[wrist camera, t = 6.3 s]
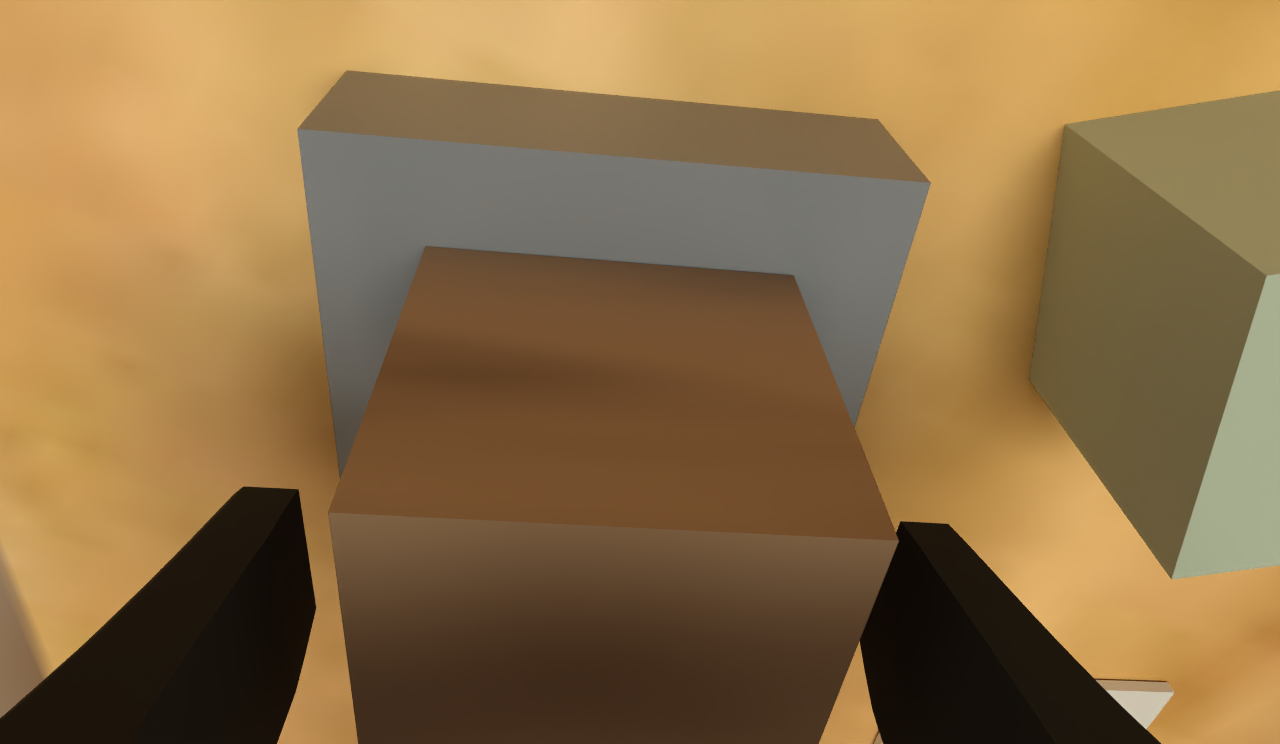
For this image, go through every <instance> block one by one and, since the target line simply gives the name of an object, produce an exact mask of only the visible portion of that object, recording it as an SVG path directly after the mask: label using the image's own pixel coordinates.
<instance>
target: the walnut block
mask: <svg viewBox="0 0 1280 744" xmlns="http://www.w3.org/2000/svg"><path fill="white" fill-rule="evenodd" d="M328 514H329V522H330V529H331V537H332V545H333V552H334V560H335V568H336V575H337V583H338V591H339V599H340V606H341V614H342V622H343V629H344V637H345V645H346V652H347V660H348V668H349V675H350V683H351V691H352V698H353V706H354V714H355V721H356V729H357V737H358V744H819V741H820V739H821V736H822V734H823V731H824V729H825V726H826V724H827V721H828V719H829V716H830V714H831V711H832V709H833V706H834V703H835V701H836V698H837V696H838V693H839V691H840V688H841V686H842V683H843V681H844V678H845V676H846V673H847V671H848V668H849V666H850V663H851V661H852V658H853V656H854V653H855V650H856V648H857V645H858V643H859V640H860V638H861V635H862V633H863V630H864V628H865V625H866V623H867V620H868V618H869V615H870V613H871V610H872V608H873V605H874V602H875V600H876V597H877V595H878V592H879V590H880V587H881V585H882V582H883V580H884V577H885V575H886V572H887V570H888V567H889V565H890V562H891V560H892V557H893V555H894V552H895V549H896V547H897V544H898V542H899V540H898V537H897V535H896V532H895V530H894V527H893V525H892V522H891V520H890V517H889V515H888V512H887V509H886V507H885V504H884V502H883V499H882V497H881V494H880V492H879V489H878V487H877V484H876V482H875V479H874V477H873V474H872V472H871V469H870V467H869V464H868V462H867V459H866V456H865V454H864V451H863V449H862V446H861V444H860V441H859V439H858V436H857V434H856V431H855V429H854V426H853V424H852V421H851V419H850V416H849V414H848V411H847V409H846V406H845V403H844V401H843V398H842V396H841V393H840V391H839V388H838V386H837V383H836V381H835V378H834V376H833V373H832V371H831V368H830V366H829V363H828V361H827V358H826V356H825V353H824V350H823V348H822V345H821V343H820V340H819V338H818V335H817V333H816V330H815V328H814V325H813V323H812V320H811V318H810V315H809V313H808V310H807V308H806V305H805V302H804V300H803V297H802V295H801V292H800V290H799V287H798V285H797V282H796V280H795V277H794V276H791V275H779V274H766V273H754V272H741V271H728V270H716V269H703V268H691V267H678V266H666V265H653V264H641V263H628V262H616V261H603V260H590V259H578V258H565V257H553V256H540V255H528V254H515V253H503V252H490V251H478V250H465V249H453V248H440V247H427V246H425V248H424V251H423V254H422V257H421V259H420V262H419V265H418V268H417V270H416V273H415V276H414V279H413V281H412V284H411V287H410V290H409V292H408V295H407V298H406V301H405V303H404V306H403V309H402V312H401V314H400V317H399V320H398V323H397V325H396V328H395V331H394V333H393V336H392V339H391V342H390V344H389V347H388V350H387V353H386V355H385V358H384V361H383V364H382V366H381V369H380V372H379V375H378V377H377V380H376V383H375V386H374V388H373V391H372V394H371V397H370V399H369V402H368V405H367V408H366V410H365V413H364V416H363V419H362V421H361V424H360V427H359V430H358V432H357V435H356V438H355V441H354V443H353V446H352V449H351V452H350V454H349V457H348V460H347V463H346V465H345V468H344V471H343V474H342V476H341V479H340V482H339V485H338V487H337V490H336V493H335V496H334V498H333V501H332V504H331V507H330V509H329V512H328Z"/></svg>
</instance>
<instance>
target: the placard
mask: <svg viewBox="0 0 1280 744" xmlns="http://www.w3.org/2000/svg"><path fill="white" fill-rule="evenodd" d="M1096 681H1097V682H1098V683H1099V684H1100V685H1101V686H1102V687H1103V688H1104V689H1105V690H1106V691H1107V692H1108V693H1109V694H1110V695H1111V696H1112V697H1113V698H1114V699H1115V700H1116V701H1117V702H1118V703H1119V704H1120V705H1121V706H1122V707H1123V708H1124V709H1125V710H1126V711H1127V712H1128V713H1129V714H1131V715H1132V716H1133V717H1134V718H1135V719H1136V720H1137V721H1138V722H1139V723H1140V724H1141V725H1142V726H1143V727H1144V728H1145V729H1147V728H1148V726H1149V725H1150V724H1151V722H1152V721H1153V720H1154V719H1155V717H1156V716H1157V715H1158V713H1159V712H1160V711H1161V709H1162V708H1163V707H1164V706H1165V704H1166V703H1167V702H1168V700H1169V699H1170V698H1171V697H1172V695H1173V694H1174V693H1175V692H1174V691H1173V689H1172V688H1171V686H1170V685H1169V683H1168V682H1145V681H1115V680H1096ZM874 744H883V742H882V739H881V736H880V733H878V735H877V738H876V740H875V742H874Z"/></svg>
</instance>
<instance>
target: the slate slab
mask: <svg viewBox="0 0 1280 744" xmlns="http://www.w3.org/2000/svg"><path fill="white" fill-rule="evenodd" d="M298 138H299V146H300V154H301V162H302V170H303V179H304V187H305V195H306V203H307V211H308V220H309V228H310V236H311V244H312V252H313V260H314V269H315V277H316V285H317V293H318V301H319V310H320V318H321V326H322V334H323V342H324V350H325V359H326V367H327V375H328V383H329V391H330V400H331V408H332V416H333V424H334V432H335V441H336V449H337V457H338V465H339V473H340V479H341V476H342V474H343V471H344V468H345V465H346V463H347V460H348V457H349V454H350V452H351V449H352V446H353V443H354V441H355V438H356V435H357V432H358V430H359V427H360V424H361V421H362V419H363V416H364V413H365V410H366V408H367V405H368V402H369V399H370V397H371V394H372V391H373V388H374V386H375V383H376V380H377V377H378V375H379V372H380V369H381V366H382V364H383V361H384V358H385V355H386V353H387V350H388V347H389V344H390V342H391V339H392V336H393V333H394V331H395V328H396V325H397V323H398V320H399V317H400V314H401V312H402V309H403V306H404V303H405V301H406V298H407V295H408V292H409V290H410V287H411V284H412V281H413V279H414V276H415V273H416V270H417V268H418V265H419V262H420V259H421V257H422V254H423V251H424V248H425V246H427V247H440V248H453V249H465V250H478V251H490V252H503V253H515V254H528V255H540V256H553V257H565V258H578V259H590V260H603V261H616V262H628V263H641V264H653V265H666V266H678V267H691V268H703V269H716V270H728V271H741V272H754V273H766V274H779V275H791V276H794V277H795V280H796V282H797V285H798V287H799V290H800V292H801V295H802V297H803V300H804V302H805V305H806V308H807V310H808V313H809V315H810V318H811V320H812V323H813V325H814V328H815V330H816V333H817V335H818V338H819V340H820V343H821V345H822V348H823V350H824V353H825V356H826V358H827V361H828V363H829V366H830V368H831V371H832V373H833V376H834V378H835V381H836V383H837V386H838V388H839V391H840V393H841V396H842V398H843V401H844V403H845V406H846V409H847V411H848V414H849V416H850V419H851V421H852V424H853V426H854V427H855V424H856V421H857V417H858V414H859V411H860V408H861V405H862V401H863V398H864V395H865V392H866V389H867V385H868V382H869V379H870V376H871V373H872V369H873V366H874V363H875V360H876V357H877V353H878V350H879V347H880V344H881V341H882V337H883V334H884V331H885V328H886V325H887V321H888V318H889V315H890V312H891V309H892V305H893V302H894V299H895V296H896V293H897V289H898V286H899V283H900V280H901V277H902V273H903V270H904V267H905V264H906V261H907V257H908V254H909V251H910V248H911V245H912V241H913V238H914V235H915V232H916V229H917V225H918V222H919V219H920V216H921V213H922V209H923V206H924V203H925V200H926V197H927V193H928V190H929V187H930V184H931V183H930V181H929V180H928V179H927V178H926V177H925V175H924V174H923V173H922V172H921V171H920V169H919V168H918V167H917V166H916V165H915V164H914V162H913V161H912V160H911V159H910V158H909V156H908V155H907V154H906V153H905V152H904V150H903V149H902V148H901V147H900V146H899V144H898V143H897V142H896V141H895V140H894V138H893V137H892V136H891V135H890V134H889V132H888V131H887V130H886V129H885V128H884V127H883V125H882V124H881V123H880V122H879V121H878V119H867V118H856V117H846V116H835V115H824V114H813V113H802V112H791V111H780V110H770V109H759V108H748V107H737V106H726V105H715V104H705V103H694V102H683V101H672V100H661V99H650V98H640V97H629V96H618V95H607V94H596V93H585V92H574V91H564V90H553V89H542V88H531V87H520V86H509V85H499V84H488V83H477V82H466V81H455V80H444V79H433V78H423V77H412V76H401V75H390V74H379V73H368V72H358V71H346V72H345V73H344V74H343V76H342V77H341V78H340V79H339V80H338V82H337V83H336V84H335V85H334V86H333V87H332V89H331V90H330V91H329V92H328V93H327V95H326V96H325V97H324V98H323V99H322V100H321V102H320V103H319V104H318V105H317V106H316V108H315V109H314V110H313V111H312V112H311V113H310V115H309V116H308V117H307V118H306V119H305V121H304V122H303V123H302V124H301V125H300V126H299V128H298Z"/></svg>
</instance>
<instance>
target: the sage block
mask: <svg viewBox="0 0 1280 744" xmlns="http://www.w3.org/2000/svg"><path fill="white" fill-rule="evenodd" d="M1029 381H1030V382H1031V384H1032V385H1033V386H1034V388H1035V389H1036V391H1037V392H1038V393H1039V395H1040V396H1041V398H1042V399H1043V400H1044V402H1045V403H1046V405H1047V406H1048V407H1049V409H1050V410H1051V412H1052V413H1053V414H1054V416H1055V417H1056V419H1057V420H1058V421H1059V423H1060V424H1061V426H1062V427H1063V428H1064V430H1065V431H1066V433H1067V434H1068V435H1069V437H1070V438H1071V440H1072V441H1073V442H1074V444H1075V445H1076V447H1077V448H1078V449H1079V451H1080V452H1081V454H1082V455H1083V456H1084V458H1085V459H1086V461H1087V462H1088V463H1089V465H1090V466H1091V468H1092V469H1093V470H1094V472H1095V473H1096V475H1097V476H1098V477H1099V479H1100V480H1101V482H1102V483H1103V484H1104V486H1105V487H1106V489H1107V490H1108V491H1109V493H1110V494H1111V496H1112V497H1113V498H1114V500H1115V501H1116V502H1117V504H1118V505H1119V507H1120V508H1121V509H1122V511H1123V512H1124V514H1125V515H1126V516H1127V518H1128V519H1129V521H1130V522H1131V523H1132V525H1133V526H1134V528H1135V529H1136V530H1137V532H1138V533H1139V535H1140V536H1141V537H1142V539H1143V540H1144V542H1145V543H1146V544H1147V546H1148V547H1149V549H1150V550H1151V551H1152V553H1153V554H1154V556H1155V557H1156V558H1157V560H1158V561H1159V563H1160V564H1161V565H1162V567H1163V568H1164V570H1165V571H1166V572H1167V574H1168V575H1169V577H1170V578H1171V579H1179V578H1186V577H1194V576H1202V575H1209V574H1217V573H1224V572H1232V571H1240V570H1247V569H1255V568H1263V567H1270V566H1278V565H1280V91H1273V92H1267V93H1261V94H1254V95H1248V96H1242V97H1235V98H1229V99H1223V100H1216V101H1210V102H1204V103H1197V104H1191V105H1185V106H1178V107H1172V108H1165V109H1159V110H1153V111H1146V112H1140V113H1134V114H1127V115H1121V116H1115V117H1108V118H1102V119H1096V120H1089V121H1083V122H1077V123H1070V124H1065V128H1064V135H1063V142H1062V149H1061V156H1060V163H1059V170H1058V177H1057V185H1056V192H1055V199H1054V206H1053V213H1052V220H1051V227H1050V234H1049V241H1048V248H1047V255H1046V263H1045V270H1044V277H1043V284H1042V291H1041V298H1040V305H1039V312H1038V319H1037V326H1036V333H1035V341H1034V348H1033V355H1032V362H1031V369H1030V376H1029Z"/></svg>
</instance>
